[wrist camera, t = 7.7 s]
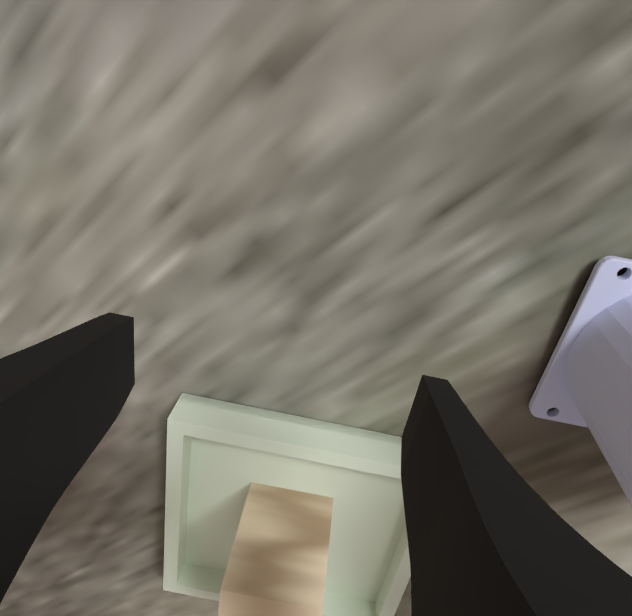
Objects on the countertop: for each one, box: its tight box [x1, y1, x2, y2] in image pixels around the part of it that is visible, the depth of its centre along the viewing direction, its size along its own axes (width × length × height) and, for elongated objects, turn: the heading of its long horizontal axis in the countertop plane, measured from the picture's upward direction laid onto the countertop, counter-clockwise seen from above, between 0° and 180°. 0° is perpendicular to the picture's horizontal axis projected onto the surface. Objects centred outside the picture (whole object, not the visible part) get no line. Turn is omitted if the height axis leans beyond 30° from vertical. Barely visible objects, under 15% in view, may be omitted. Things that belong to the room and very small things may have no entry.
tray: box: [163, 393, 411, 616], centre depth 27 cm, size 14×14×2 cm
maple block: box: [218, 482, 333, 616], centre depth 25 cm, size 4×4×6 cm
